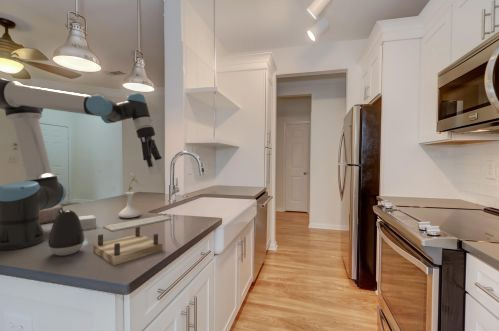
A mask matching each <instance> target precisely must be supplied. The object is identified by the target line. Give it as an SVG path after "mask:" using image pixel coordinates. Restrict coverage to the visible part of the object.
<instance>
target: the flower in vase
mask: <svg viewBox="0 0 499 331" xmlns="http://www.w3.org/2000/svg"><path fill="white" fill-rule="evenodd" d="M130 176H131V180H130V183H129V184H128V185H129V186H128V189H127V192H124V195H125V197H126V200H127V204H126V206H125V207H124V208H123V209H121V210H120V212H118V214H117V216H118V217H119V218H121V219H131V218H136V217H137V218H138V217H139V216H140V215H141V211H140V210H139V209H137V208H136V207H134V206H133V203H132V202H133V196H134V194H135V191H131V190H133V187H132V186H131V184H132V182H133V181H134V183H135V184H136V185H139V184H140V183H139V182H138V180H137V179H136V176H134V173H133V172H130Z"/></svg>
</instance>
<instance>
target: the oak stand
mask: <svg viewBox="0 0 499 331" xmlns="http://www.w3.org/2000/svg"><path fill="white" fill-rule="evenodd" d="M140 229H141V226H138V227H134V230H135V234H133V235H129V236H124V237H121V238H118V239H113V240H107V241H104V233H103V234H102V233H101V234H98V235H97V243H96V244H93V249H92V250H93V253H95V254H97V255H98V256H99V257H101V258H102V259H104V260H105V261H106V262H108V263H109V264H111V265H112V266H117V265H119V264H123V263H126V262H129V261H133V260H135V259H140V258H143V257H145V256H149V255H151V254H155V253H158V252H162V251H163V243H162V242H160V241H159V233H154V234H153V238H150V237H148V236H146V235H143V234H141V230H140Z"/></svg>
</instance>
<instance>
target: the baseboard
mask: <svg viewBox="0 0 499 331" xmlns="http://www.w3.org/2000/svg"><path fill="white" fill-rule="evenodd" d="M167 221H172V216H170V215H168V214H167V213H164V214H160V215H158V216H151V217H145V218H139V219H134V220H129V221H124V222H119V223H114V224H108V225H103V226H102V228H103V229H105V230H107V231H110V233H114V232H118V231H122V230H123V229H124V230H127V229H132V228H136V227H143V226H147V225H151V224H152V225H153V224H156V223H157V224H158V223H161V222H167Z"/></svg>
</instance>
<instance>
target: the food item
mask: <svg viewBox="0 0 499 331" xmlns="http://www.w3.org/2000/svg"><path fill="white" fill-rule="evenodd" d="M63 207H64V206H63V205H61V203H60V204H58V205H56V206H54V207H52V208H47V209H44V210H40V211H39V222H40V224H41V225H45V224H50V223H54V221H55V219H56V217H57V216H58V214H59V211H64V208H63Z"/></svg>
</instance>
